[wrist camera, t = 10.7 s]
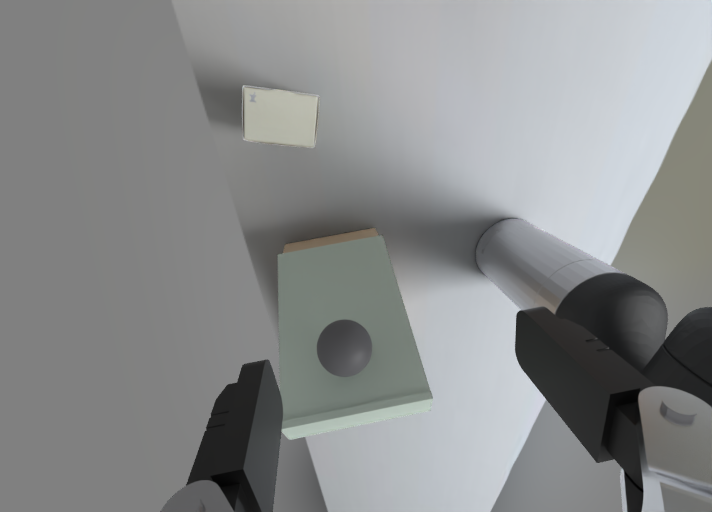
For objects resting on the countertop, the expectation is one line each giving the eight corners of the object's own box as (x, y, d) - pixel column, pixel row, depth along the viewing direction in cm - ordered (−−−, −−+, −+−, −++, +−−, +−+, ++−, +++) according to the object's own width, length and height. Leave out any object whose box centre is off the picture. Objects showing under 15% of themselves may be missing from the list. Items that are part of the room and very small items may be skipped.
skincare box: (260, 133, 39) (237, 141, 28) (260, 91, 38) (237, 83, 27) (316, 139, 40) (316, 150, 29) (319, 99, 39) (320, 94, 28)
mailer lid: (284, 270, 42) (262, 216, 35) (383, 252, 42) (380, 194, 36) (289, 439, 29) (256, 405, 23) (430, 410, 30) (439, 369, 23)
